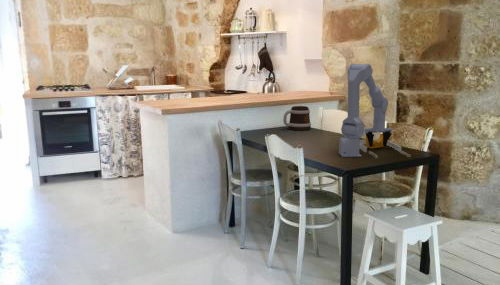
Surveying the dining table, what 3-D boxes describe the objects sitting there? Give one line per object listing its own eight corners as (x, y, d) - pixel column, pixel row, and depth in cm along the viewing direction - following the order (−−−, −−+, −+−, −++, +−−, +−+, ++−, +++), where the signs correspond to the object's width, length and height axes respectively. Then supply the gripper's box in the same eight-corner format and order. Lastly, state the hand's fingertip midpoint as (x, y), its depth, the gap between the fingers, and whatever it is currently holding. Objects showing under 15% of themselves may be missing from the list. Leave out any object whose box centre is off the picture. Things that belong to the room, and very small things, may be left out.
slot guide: (375, 158, 205) (375, 155, 205) (368, 153, 215) (368, 151, 215) (410, 157, 206) (410, 155, 206) (401, 153, 216) (402, 150, 216)
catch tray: (365, 152, 218) (365, 147, 217) (352, 144, 238) (353, 139, 238) (401, 151, 219) (401, 146, 218) (385, 143, 239) (386, 139, 239)
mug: (303, 126, 298) (303, 105, 296) (315, 130, 285) (316, 107, 282) (277, 128, 290) (278, 106, 287) (289, 132, 277) (289, 108, 274)
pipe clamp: (371, 148, 226) (371, 136, 225) (365, 147, 230) (365, 135, 229) (388, 146, 231) (388, 134, 230) (382, 145, 235) (382, 133, 234)
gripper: (369, 121, 218) (368, 148, 221) (396, 121, 221) (394, 147, 223) (363, 119, 225) (362, 145, 227) (389, 119, 228) (387, 144, 230)
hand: (377, 146), depth 226 cm, fingers open, 7 cm apart
